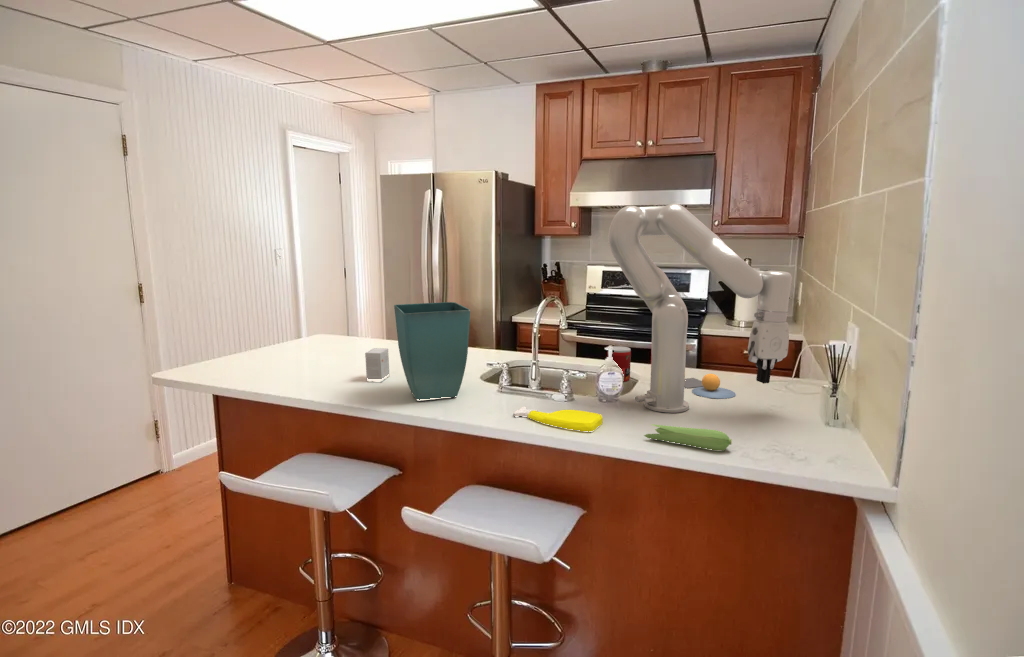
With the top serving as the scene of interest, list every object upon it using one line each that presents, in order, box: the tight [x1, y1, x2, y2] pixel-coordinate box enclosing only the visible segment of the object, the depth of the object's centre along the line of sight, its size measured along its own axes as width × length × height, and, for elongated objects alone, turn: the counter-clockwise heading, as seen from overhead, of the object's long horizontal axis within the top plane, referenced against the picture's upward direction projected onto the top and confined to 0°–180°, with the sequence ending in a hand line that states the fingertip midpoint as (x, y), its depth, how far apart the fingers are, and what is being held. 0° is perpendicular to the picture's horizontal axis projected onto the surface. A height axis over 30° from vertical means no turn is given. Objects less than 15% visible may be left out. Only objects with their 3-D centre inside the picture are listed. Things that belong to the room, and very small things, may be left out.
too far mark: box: [684, 377, 703, 389], centre depth 186 cm, size 10×10×1 cm
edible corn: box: [643, 423, 733, 452], centre depth 133 cm, size 5×20×5 cm
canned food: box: [606, 345, 632, 383], centre depth 191 cm, size 8×8×11 cm
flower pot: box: [393, 301, 471, 400], centre depth 173 cm, size 20×20×28 cm
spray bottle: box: [513, 406, 604, 432], centre depth 150 cm, size 3×11×24 cm
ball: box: [701, 373, 721, 391], centre depth 177 cm, size 6×6×6 cm
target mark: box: [691, 386, 737, 400], centre depth 175 cm, size 13×13×1 cm
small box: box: [364, 347, 390, 379], centre depth 194 cm, size 8×6×10 cm
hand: (762, 381), depth 153 cm, fingers closed
